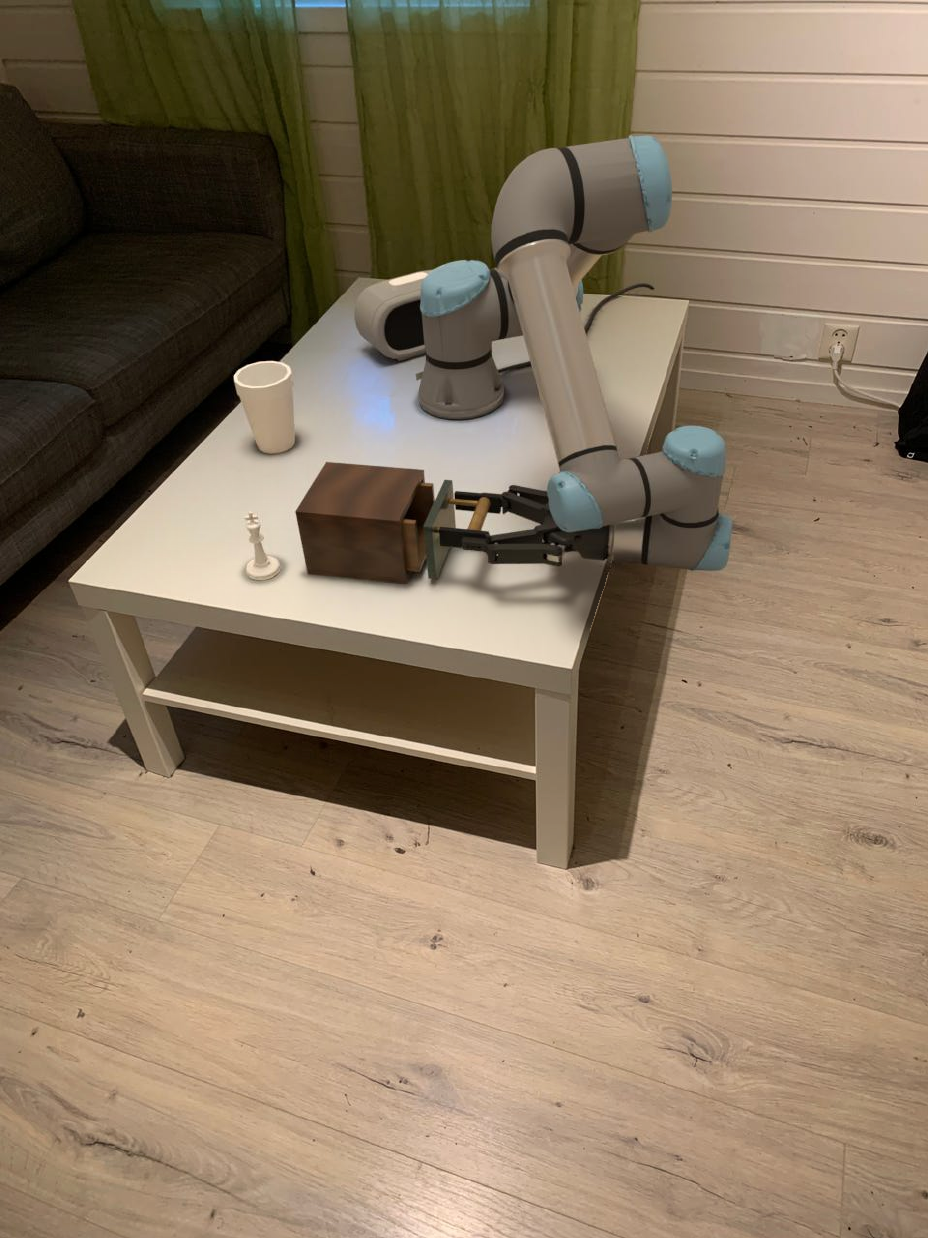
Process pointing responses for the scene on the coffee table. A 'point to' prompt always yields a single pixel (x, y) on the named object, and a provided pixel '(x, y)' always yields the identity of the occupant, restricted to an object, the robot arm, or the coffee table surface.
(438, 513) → the drawer
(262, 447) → the foam cup
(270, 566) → the chess piece
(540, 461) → the coffee table surface
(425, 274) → the alarm clock
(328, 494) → the cabinet
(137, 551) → the coffee table surface
